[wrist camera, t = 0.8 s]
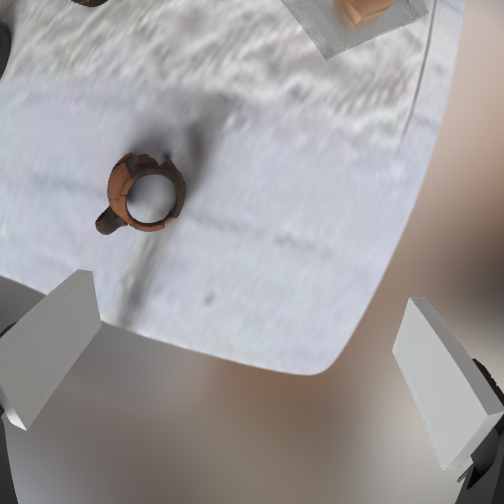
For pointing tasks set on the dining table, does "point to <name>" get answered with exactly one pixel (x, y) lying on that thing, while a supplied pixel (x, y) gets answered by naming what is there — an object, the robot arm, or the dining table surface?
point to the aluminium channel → (349, 22)
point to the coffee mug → (89, 2)
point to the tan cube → (365, 8)
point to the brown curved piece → (121, 185)
